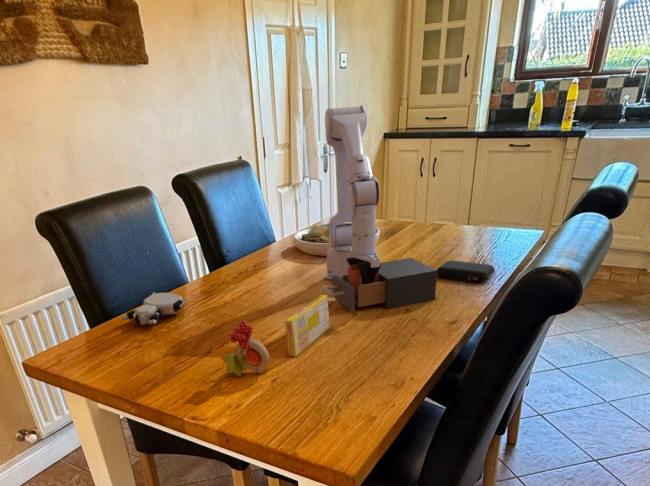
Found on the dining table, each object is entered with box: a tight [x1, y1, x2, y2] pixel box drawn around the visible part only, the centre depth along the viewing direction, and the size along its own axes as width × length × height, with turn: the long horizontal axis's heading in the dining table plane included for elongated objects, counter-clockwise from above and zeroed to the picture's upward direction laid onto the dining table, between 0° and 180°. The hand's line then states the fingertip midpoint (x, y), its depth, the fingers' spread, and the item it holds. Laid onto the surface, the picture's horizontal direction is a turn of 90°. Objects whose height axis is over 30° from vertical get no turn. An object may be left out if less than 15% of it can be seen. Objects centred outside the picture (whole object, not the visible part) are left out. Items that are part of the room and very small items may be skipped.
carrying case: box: [436, 260, 496, 283], centre depth 144 cm, size 11×3×15 cm
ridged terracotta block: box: [348, 263, 379, 295], centre depth 130 cm, size 7×5×7 cm
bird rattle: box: [223, 319, 270, 377], centre depth 102 cm, size 6×11×9 cm
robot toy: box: [120, 291, 190, 326], centre depth 134 cm, size 12×4×15 cm
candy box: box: [284, 294, 331, 357], centre depth 113 cm, size 16×2×8 cm, turn 149°
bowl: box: [293, 222, 380, 257], centre depth 180 cm, size 30×30×8 cm
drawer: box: [321, 274, 386, 312], centre depth 131 cm, size 17×12×6 cm
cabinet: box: [379, 257, 438, 309], centre depth 134 cm, size 14×13×8 cm
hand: (363, 287), depth 132 cm, fingers closed on ridged terracotta block, 4 cm apart
